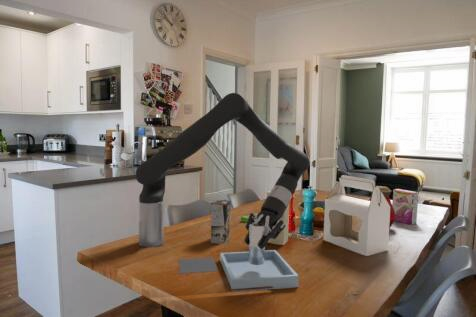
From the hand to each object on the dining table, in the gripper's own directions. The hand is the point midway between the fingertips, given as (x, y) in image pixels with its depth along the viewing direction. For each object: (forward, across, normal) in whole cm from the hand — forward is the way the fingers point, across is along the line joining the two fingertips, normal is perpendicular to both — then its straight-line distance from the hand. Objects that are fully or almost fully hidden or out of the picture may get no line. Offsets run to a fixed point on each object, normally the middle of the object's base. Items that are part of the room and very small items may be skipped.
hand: (253, 245), depth 108 cm
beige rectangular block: (-16, -15, +30) cm, 37 cm away
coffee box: (-5, -32, +19) cm, 38 cm away
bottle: (-52, +7, +67) cm, 86 cm away
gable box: (-29, +10, +44) cm, 54 cm away
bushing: (+3, 0, +6) cm, 6 cm away
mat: (+13, -17, +1) cm, 21 cm away
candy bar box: (-67, +12, +82) cm, 107 cm away
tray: (+6, 0, +8) cm, 10 cm away
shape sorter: (-33, -38, +48) cm, 70 cm away
